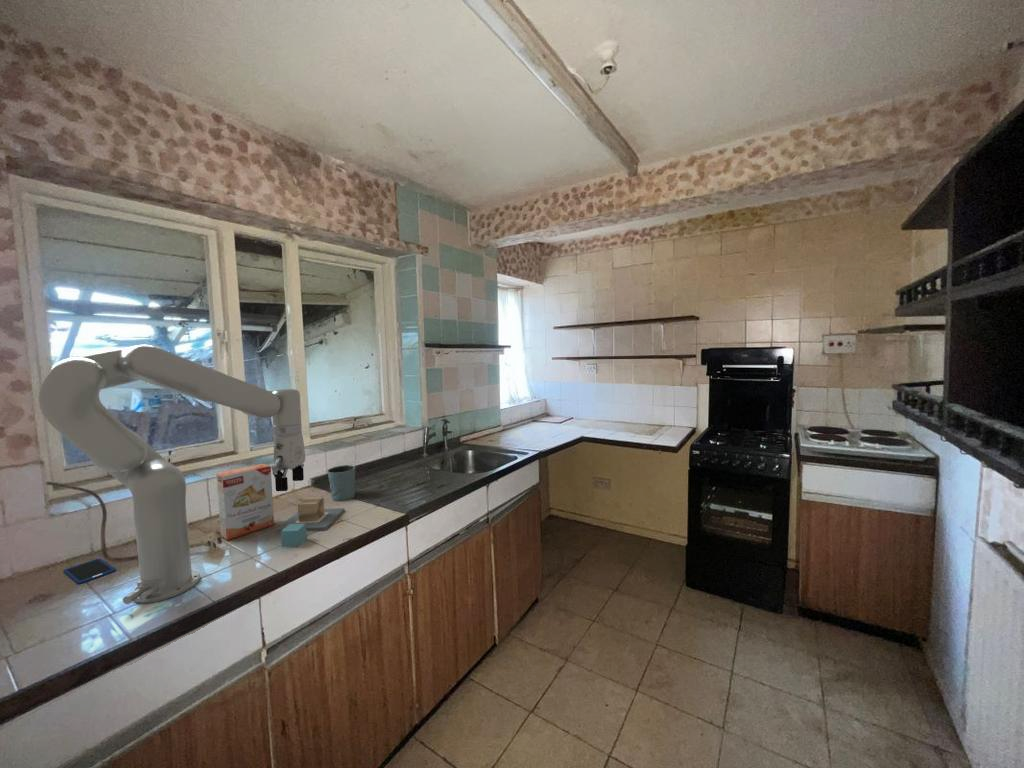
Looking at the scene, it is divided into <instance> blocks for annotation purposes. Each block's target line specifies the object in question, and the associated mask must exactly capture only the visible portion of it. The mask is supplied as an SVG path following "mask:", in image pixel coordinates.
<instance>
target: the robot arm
mask: <svg viewBox="0 0 1024 768" xmlns="http://www.w3.org/2000/svg"><path fill="white" fill-rule="evenodd" d="M137 381H142V382H145V383H149V384H151V385H153V386H157V387H160V388H163V389H166V390H168V391H172V392H175V393H178V394H181V395H183V396H186V397H189V398H192V399H195V400H199V401H202V402H207V403H212V404H216V405H217V404H218V405H222V406H224V407H227V408H231V409H234V410H237V411H239V412H242V413H243V414H245V415H247V416H249V417H255V418H258V419H269V418H272V434H273V437H274V439H273V463H272V464H271V465H270V466H271V472H272V475H273V478H274V479H275V480H274V482H275V484H274V485H275V491H276V492H287V491H288V490H289V486H288V484H289V483H288V476H287V473H288V470H291V471H292V473H291V474H292V475H291V476H292V481H293V482H302V481H304V480H305V479H304V478H305V476H304V466H305V462H306V451H305V449H306V448H305V443H304V437H303V427H302V410H301V405H302V404H301V395H300V391H299V390H297V389H295V388H285V389H283V388H282V389H276V390H266V389H265V388H262V387H259V386H257V385H255V384H251V383H250V382H247V381H243V380H241V379H238V378H235V377H233V376H231V375H228V374H226V373H223V372H221V371H218V370H216V369H213V368H210V367H208V366H205V365H204V364H200V363H198V362H196V361H193V360H190V359H187V358H185V357H183V356H180V355H177V354H175V353H172V352H170V351H167V350H165V349H162V348H160V347H157V346H154V345H150V344H139V345H133V346H129V347H123V348H120V349H115V350H114V349H113V350H110V351H105V352H100V353H99V352H98V353H93V354H88V355H82V356H76V357H69V358H65V359H62V360H60V361H58V362H56V363H54V364H53V365H52V366H51V368H50V369H49V371H48V374H47V375H46V377H45V378H44V380H43V382H42V384H41V386H40V389H39V393H38V394H39V395H38V404H39V408H40V410H41V413H42V415H43V417H44V418H45V420H46V421H47V422H48V423H49V424H50V425H51V427H53V428H54V429H55V430H56V431H57V432H58V433H60V435H62V436H63V437H64V438H65V439H66V440H68V441H69V442H70V443H71V444H73V446H75V447H76V448H77V449H78V450H80V451H81V452H82V453H83V454H84V455H86V457H88V458H89V459H90V460H91V462H92V463H93V464H94V465H95V466H96V467H97V468H100V469H102V470H104V471H105V472H107V473H108V474H109V475H111V476H112V477H113V478H114V479H116V480H117V481H118V482H119V483H121V485H123V486H124V487H126V488H127V489H128V490H129V492H130V493H131V496H132V500H133V501H132V502H133V522H134V532H135V538H136V539H135V540H136V549H137V559H138V569H139V578H140V579H139V580H138V581H137V582H136V585H137V587H136V588H135V589H134V590H133V591H132V592H130V593H128V594H127V595H125V596H124V597H123V598H122V603H123V604H124V605H129V604H131V603H133V602H135V603H139V604H140V603H141V604H147V603H149V604H150V603H156V602H160V601H164V600H167V599H170V598H173V597H176V596H178V595H180V594H183V593H185V592H186V591H188V590H190V589H191V588H193V587H194V586H196V584H198V583H199V581H200V578H201V574H200V572H199V571H197V570H195V569H192V563H191V562H192V561H191V560H192V559H191V552H190V551H191V550H190V549H191V548H190V539H189V528H188V518H187V508H186V502H187V501H186V499H187V497H186V496H187V482H186V479H185V476H184V474H183V473H182V471H181V470H180V469H179V468H178V467H176V466H175V465H174V464H172V463H171V462H169V461H168V460H167V459H165V458H164V456H162V455H161V454H160V453H158V452H157V451H156V450H155V449H154V448H153V447H152V446H151V445H149V444H148V443H147V442H146V441H145V440H144V438H143V436H142V437H141V435H139V434H138V433H137V432H135V431H133V430H131V429H130V428H129V427H128V426H126V425H125V424H124V423H123V422H121V421H120V420H119V418H117V417H116V416H115V415H114V414H113V413H112V412H111V411H110V410H109V409H108V408H106V406H104V404H103V403H102V401H101V400H100V392H101V391H102V390H105V389H109V388H114V387H118V386H121V385H125V384H130V383H134V382H137Z"/></svg>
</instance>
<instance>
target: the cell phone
mask: <svg viewBox="0 0 1024 768" xmlns="http://www.w3.org/2000/svg"><path fill="white" fill-rule="evenodd" d="M62 572H63V573H64V574H65V575H66V576H68V577H69V578H70V579H71V580H72V581H73V582H75V583H76V584H77V585H82V584H85V583H87V582H90V581H93V580H96V579H99V578H101V577H105V576H107V575H111V574H113V573H115V572H117V569H116V568H115V567H114V566H113V565H111V564H109V563H108V562H107V561H105V560H104V559H102V558H94V559H92V560H89V561H85V562H83V563H80V564H77V565H74V566H71V567H68V568H65V569H63V571H62Z"/></svg>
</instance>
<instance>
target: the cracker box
mask: <svg viewBox="0 0 1024 768" xmlns="http://www.w3.org/2000/svg"><path fill="white" fill-rule="evenodd" d="M271 466H272V465H268V464H265V463H261V464H260V463H259V464H255V465H252V466H246V467H241V468H236V469H231V470H227V471H223V472H222V471H221V472H218V473H216V486H217V487H216V488H217V497H218V498H217V500H218V513H219V514H218V515H219V527H220V529H219V530H220V536H221V537H222V538H223V539H225V541H226V540H227V541H229V540H232V539H235V538H239V537H241V536H245V535H248V534H250V533H253V532H256V531H260V530H263V529H265V528H269V527H272V526H274V525H275V522H274V521H275V519H274V518H275V517H274V515H275V514H274V505H273V504H274V502H273V501H274V500H273V484H272V483H273V481H272V469H271Z"/></svg>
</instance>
